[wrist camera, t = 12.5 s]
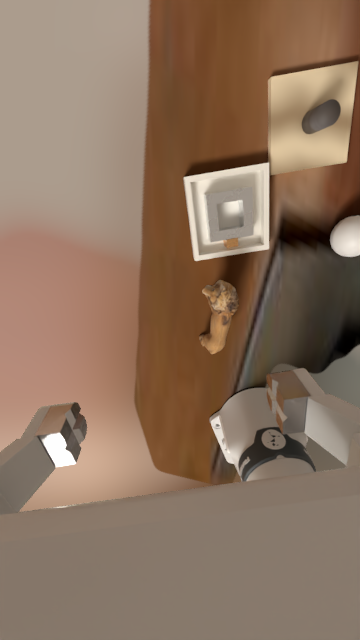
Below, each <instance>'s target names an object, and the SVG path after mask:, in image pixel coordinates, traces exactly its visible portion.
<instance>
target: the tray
mask: <svg viewBox="0 0 360 640" xmlns="http://www.w3.org/2000/svg"><path fill="white" fill-rule="evenodd" d="M183 179H184V187H185V195H186V203H187V210H188V218H189V226H190V234H191V242H192V249H193V257H194V260H195V261H198V260H205V259H211V258H217V257H223V256H229V255H235V254H242V253H248V252H254V251H260V250H266V249H269V163H263V164H257V165H251V166H246V167H240V168H234V169H228V170H222V171H216V172H211V173H205V174H199V175H193V176H187V177H184V178H183ZM246 187H252V193H253V228H254V235H251V236H246V237H240V238H238V246H236V247H231V248H226V247H225V246H224V242H223V240H222V241H216V242H210V241H209V240H208V232H207V223H206V213H205V204H204V195H206V194H212V193H217V192H223V191H229V190H234V189H240V188H246ZM217 212H218V223H219V228H225V227H231V226H236V225H239V205H238V201H232V202H226V203H221V204H217Z"/></svg>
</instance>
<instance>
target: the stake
mask: <svg viewBox="0 0 360 640" xmlns="http://www.w3.org/2000/svg"><path fill="white" fill-rule="evenodd" d="M357 70H358V61H356V62H351V63H345V64H340V65H334V66H329V67H323V68H318V69H312V70H306V71H301V72H295V73H290V74H284V75H279V76H273V77H271V78H270V79H269V80H268V163H269V175H275V174H281V173H287V172H292V171H298V170H304V169H310V168H316V167H322V166H328V165H334V164H339V163H345V162H347V155H348V146H349V138H350V129H351V121H352V112H353V104H354V95H355V87H356V78H357Z"/></svg>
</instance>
